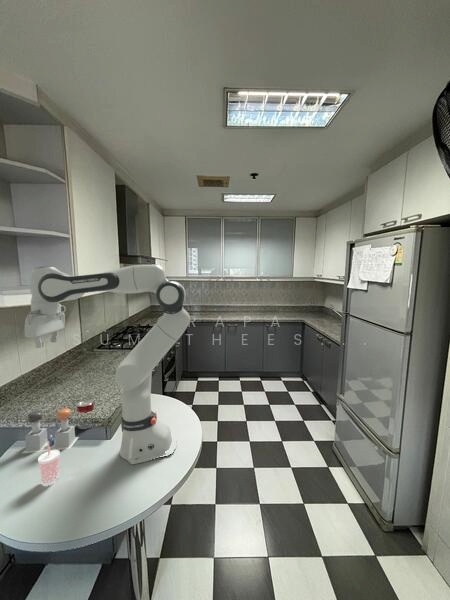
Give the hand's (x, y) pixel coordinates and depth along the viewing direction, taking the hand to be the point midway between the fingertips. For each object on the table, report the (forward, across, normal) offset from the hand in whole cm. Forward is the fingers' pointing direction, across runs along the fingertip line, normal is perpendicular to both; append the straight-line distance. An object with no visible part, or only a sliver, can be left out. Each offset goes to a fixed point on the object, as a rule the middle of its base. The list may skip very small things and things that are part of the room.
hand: (47, 344), depth 95 cm
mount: (+44, +6, +3) cm, 45 cm away
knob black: (+39, +6, +9) cm, 40 cm away
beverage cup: (+44, -14, -7) cm, 47 cm away
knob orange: (+39, +6, -2) cm, 39 cm away
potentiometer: (+43, +6, +3) cm, 44 cm away
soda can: (+44, +19, -5) cm, 49 cm away
